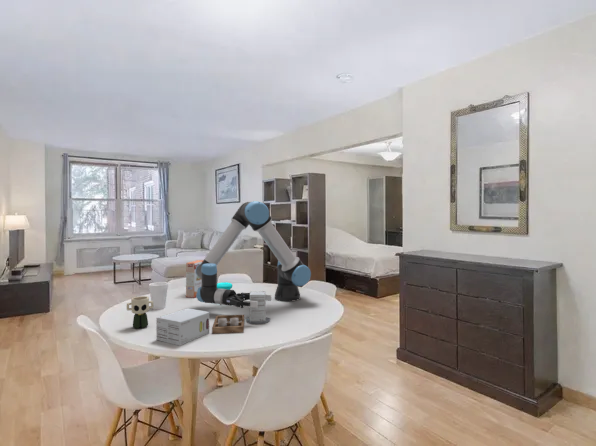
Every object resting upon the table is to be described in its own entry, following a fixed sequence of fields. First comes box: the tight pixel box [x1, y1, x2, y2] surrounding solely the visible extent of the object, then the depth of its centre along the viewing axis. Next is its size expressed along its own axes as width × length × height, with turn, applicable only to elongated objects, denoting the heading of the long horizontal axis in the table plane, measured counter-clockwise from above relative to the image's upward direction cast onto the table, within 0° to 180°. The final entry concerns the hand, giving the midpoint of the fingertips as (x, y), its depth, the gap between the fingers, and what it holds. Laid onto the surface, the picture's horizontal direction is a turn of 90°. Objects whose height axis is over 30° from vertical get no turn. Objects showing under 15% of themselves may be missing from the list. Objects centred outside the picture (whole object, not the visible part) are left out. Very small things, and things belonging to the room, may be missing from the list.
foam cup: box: [148, 281, 169, 311], centre depth 192 cm, size 10×9×13 cm
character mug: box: [126, 295, 153, 329], centre depth 160 cm, size 11×7×13 cm, turn 114°
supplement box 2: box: [249, 290, 267, 322], centre depth 169 cm, size 7×7×13 cm
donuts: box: [217, 281, 233, 290], centre depth 208 cm, size 10×10×10 cm
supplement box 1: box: [155, 308, 210, 346], centre depth 148 cm, size 17×13×9 cm
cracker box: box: [185, 259, 204, 299], centre depth 221 cm, size 14×6×21 cm, turn 168°
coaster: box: [245, 316, 271, 325], centre depth 170 cm, size 11×11×1 cm
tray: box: [211, 314, 245, 335], centre depth 161 cm, size 13×18×5 cm
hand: (264, 301), depth 168 cm, fingers open, 13 cm apart
